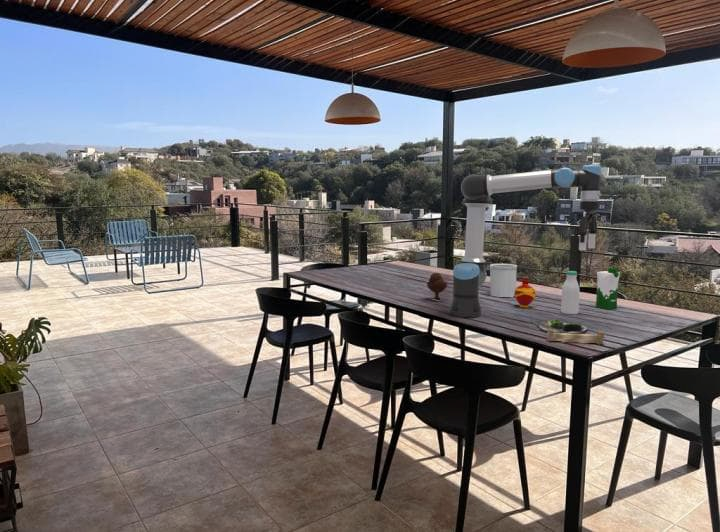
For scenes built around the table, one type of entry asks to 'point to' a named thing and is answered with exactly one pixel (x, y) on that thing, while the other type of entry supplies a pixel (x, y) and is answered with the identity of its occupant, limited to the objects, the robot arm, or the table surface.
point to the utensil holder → (503, 280)
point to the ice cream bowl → (436, 284)
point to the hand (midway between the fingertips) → (586, 249)
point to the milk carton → (607, 289)
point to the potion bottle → (525, 293)
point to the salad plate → (563, 327)
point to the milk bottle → (570, 294)
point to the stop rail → (575, 337)
